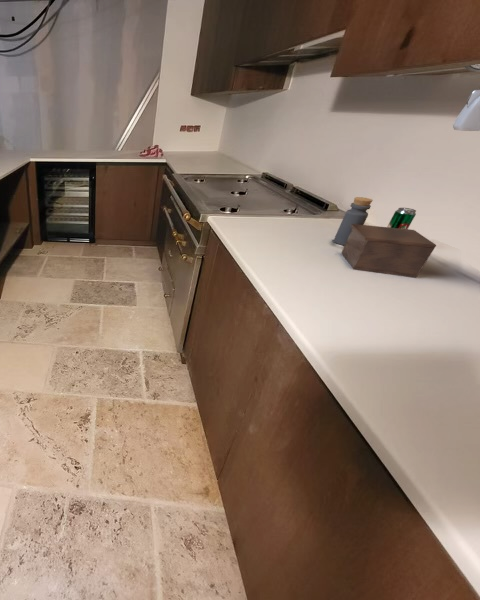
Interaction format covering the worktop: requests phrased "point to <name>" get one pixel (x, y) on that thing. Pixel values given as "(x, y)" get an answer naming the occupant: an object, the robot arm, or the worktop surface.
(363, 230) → the lid
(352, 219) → the bottle
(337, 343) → the worktop surface
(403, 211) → the soda can
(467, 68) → the robot arm
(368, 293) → the worktop surface
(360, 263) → the brown wooden box
